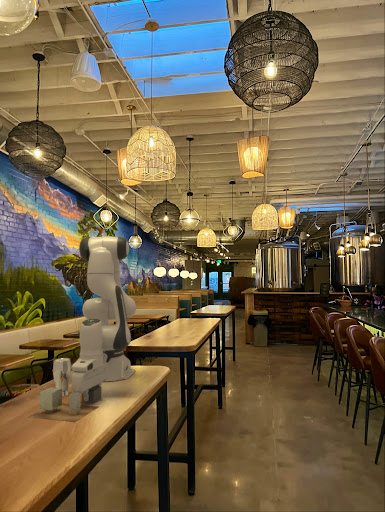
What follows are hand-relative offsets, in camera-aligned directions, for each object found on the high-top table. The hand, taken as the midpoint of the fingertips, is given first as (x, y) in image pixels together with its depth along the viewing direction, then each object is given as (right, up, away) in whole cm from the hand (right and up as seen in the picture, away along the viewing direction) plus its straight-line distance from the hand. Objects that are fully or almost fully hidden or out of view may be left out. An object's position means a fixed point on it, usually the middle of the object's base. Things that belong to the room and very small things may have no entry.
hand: (91, 397), depth 142 cm
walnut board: (-7, -2, -11) cm, 13 cm away
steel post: (-2, 0, -14) cm, 14 cm away
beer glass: (-15, -3, +9) cm, 18 cm away
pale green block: (-12, -1, -10) cm, 16 cm away
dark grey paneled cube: (0, -2, 0) cm, 2 cm away
